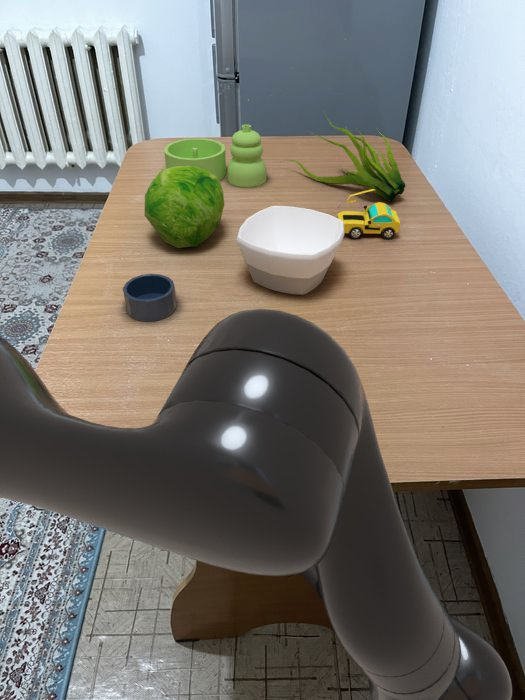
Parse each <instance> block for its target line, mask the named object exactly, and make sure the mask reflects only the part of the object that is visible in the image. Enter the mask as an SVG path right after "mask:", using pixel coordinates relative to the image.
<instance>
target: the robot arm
mask: <svg viewBox="0 0 525 700" xmlns="http://www.w3.org/2000/svg"><path fill="white" fill-rule="evenodd" d="M380 449H381V448H380V446H379V441H378V437H377V434H376V429H375V425H374V422H373V417H372V413H371V409H370V406H369V402H368V398H367V395H366V391H365V388H364V385H363V383H362V380H361V378H360V374H359V372H358V371H357V368H356V366H355V365H354V363H353V361H352V359H351V358H350V356H349V355H348V353H347V352H346V350H345V349H344V348H343V347H342V346H341V345H340V343H338V342H337V341H336V339H334V337H332V335H330V334H329V333H328V332H326V331H325V330H323V328H321V327H319V326H318V325H316V324H315V323H313V322H312V321H310V320H308V319H305V318H304V317H301V316H299V315H297V314H293V313H291V312H286V311H283V310H276V309H266V308H265V309H264V308H257V309H255V308H254V309H247V310H241V311H238V312H235V313H232V314H229V315H228V316H227V317H225V318H223V319H222V320H219V322H217V323H216V324H215V325H214V326H213V327H212V328H211V329H210V330H209V331H208V333H207V334H206V335H205V336H204V337H203V338H202V340H201V341H200V342H199V343H198V346H197V347H196V348H195V349H194V352H193V353H192V355H191V356H190V358H189V359H188V362H187V363H186V365H185V367H184V369H183V370H182V372H181V375H180V376H179V378H178V379H177V381H176V383H175V385H174V387H173V388H172V389H171V392H170V394H169V395H168V396H167V399H166V400H165V403H164V404H163V406H162V407H161V409H160V411H159V412H158V415H157V416H156V418H155V419H154V420H153V422H152V423H151V424H149V425H146V426H143V427H135V428H134V427H117V426H110V425H105V424H100V423H96V422H92V421H89V420H87V419H83V418H81V417H78V416H74V415H72V414H70V413H69V412H68V411H67V410H66V409H65V408H64V407H63V406H62V405H61V404H60V403H59V402H58V401H57V400H56V398H55V397H54V395H53V394H52V393H51V391H50V390H49V388H48V387H47V385H46V384H45V382H43V380H42V379H41V377H40V376H39V374H38V373H37V372H36V371H35V369H34V368H33V367H32V365H31V364H30V362H28V360H27V359H26V358H25V357H24V355H23V354H22V353H21V352H20V351H19V350H18V349H17V348H16V347H15V346H13V345H12V344H11V343H10V342H9V341H7V340H6V339H5V338H3V337H2V336H1V335H0V498H1V499H6V500H10V501H13V502H17V503H20V504H25V505H28V506H32V507H36V508H39V509H41V510H42V509H43V510H46V511H49V512H52V513H56V514H59V515H62V516H64V517H68V518H70V519H73V520H76V521H79V522H81V523H85V524H88V525H90V526H93V527H96V528H98V529H101V530H105V531H107V532H111V533H114V534H117V535H120V536H122V537H125V538H128V539H131V540H134V541H136V542H140V543H143V544H145V545H148V546H152V547H155V548H157V549H160V550H163V551H166V552H169V553H172V554H175V555H178V556H181V557H184V558H187V559H191V560H194V561H197V562H199V563H203V564H206V565H210V566H211V567H216V568H220V569H224V570H228V571H232V572H236V573H242V574H246V575H255V576H262V577H288V576H296V575H299V574H301V576H302V577H303V578H304V579H305V580H306V581H307V582H308V583H309V585H311V587H312V588H313V589H314V591H315V592H316V593H317V595H318V597H320V599H321V601H322V602H323V606H324V609H325V612H326V616H327V618H328V621H329V623H330V625H331V627H332V630H333V631H334V634H335V636H336V638H337V640H338V642H339V643H340V644H341V646H342V648H343V649H344V650H345V651H346V652H347V654H348V656H349V657H350V658H351V659H352V660H353V661H354V662H355V664H356V665H357V666H358V668H359V669H360V670H361V671H362V672H363V673H364V674H365V675H366V677H367V681H368V689H369V694H370V698H371V700H512V697H513V684H512V679H511V676H510V672H509V670H508V667H507V666H506V665H507V664H506V663H505V662H504V660H503V659H502V657H501V655H500V654H499V653H498V651H497V650H496V649H495V648H494V647H493V645H491V644H490V643H489V642H488V641H487V639H485V638H483V637H482V636H481V635H480V634H478V633H477V632H476V631H475V630H473V629H472V628H470V626H468V625H466V624H465V623H463V622H461V621H460V620H459V619H457V618H456V617H454V616H453V615H451V614H450V613H448V612H447V610H446V608H445V606H444V604H443V603H442V600H441V599H440V598H439V596H438V594H437V592H436V590H435V588H434V587H433V585H432V583H431V582H430V579H429V578H428V576H427V574H426V573H425V570H424V569H423V566H422V565H421V562H420V560H419V558H418V556H417V553H416V550H415V548H414V546H413V544H412V541H411V539H410V536H409V533H408V530H407V527H406V525H405V523H404V519H403V516H402V514H401V511H400V508H399V505H398V503H397V498H396V496H395V494H394V490H393V487H392V484H391V480H390V478H389V474H388V471H387V467H386V465H385V462H384V459H383V455H382V452H381V450H380Z"/></svg>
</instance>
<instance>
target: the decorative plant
mask: <svg viewBox="0 0 525 700" xmlns="http://www.w3.org/2000/svg"><path fill="white" fill-rule="evenodd" d="M323 114H324V115H325V118H326V119H327V121H328V123H329V125H330V126H331V127H332V128H333V129H335V130H337V131H340V132H342V133H344V134H345V135H346V136H347V137H349V139H350V141H351V142H352V144H353V145H354V147H355V149H356V150H357V152H358V157H359V158H358V157H357V156H356V155H355V153H353V152H352V151H351V150H350V149H349V148H348V147H347V146H346V145H345V144H342V143H339V142H336V141H333V140H330V139H327V138H325V137H323V136H320V135H318V134H315V133H313V132H311V131H307V132H309V133H310V134H311V135H314V136H316V137H318V138H320V139H321V140H324V141H325V142H328V143H330V144H332V145H333V146H337V147H340V148H342V149H343V150H344V151H345V153H346V155H347V156H348V158H349V159H350V161H351V162H352V164H353V165H354V167H355V169H356V171H354V170H348V171H346V170H345V169H344V168H343V167H342V165H341V164H339V166H340V167H341V168H342V171H343V172H344V173H345V174H346V175H337V176H336V175H335V176H317V175H315V174H313V173H312V172H310V171H309V170H307V169H306V167H305V166H304V165H303V164H302V163H301V162H299V161H297V160H295V159H287V162H288V161H289V162H295V163H296V164H297V165H299V167H300V168H301V169H302V171H303V172H304V173H305V174H306V175H307V176H309V177H310V178H311V179H313V180H315V181H317V182H321V183H324V184H329V185H353V186H354V185H355V186H361V187H364V188H366V189H368V190H371V189H375V190H374V191H371V192H372V193H374V194H377V195H379V196H381V197H382V198H384V199H385V200H386V201H389V202H391V203H393V202H394V200H395V199H396V198H397V196H399V195H403V193H404V191H405V190H406V189H405V188H406V183H405V181H404V180H403V179H402V176H401V173H400V170H399V168H398V163H397V161H396V160H395V158H394V155H393V151H392V147H391V144H390V143H389V140H388V139H387V137H386V136H385V135H384V134H382V133H381V132H380V131H379V129H378V127H377V126H376V127H375V128H376V131H377V132H378V133H379V135H381V137H382V138H383V139H384V141H385V143H386V154H387V155H386V156H387V159H386V157H385V156H384V154H383V153H382V152H381V150H379V149H378V148H376V147H372V146H371V144H369V143H368V142H367V141H366V140H365V137H364V135H362V133H361V132H360V131H359V130H358V129H357V128H355V127H354V129H355V130H356V131H357V132H358V133H359V134H360V136H361V137H358V136H355V135H353V133H352V132H351V131H349V130H348V129H347V127H345V128H344V127H343V128H342V127H337V126H335V125H334V124H332V122H331V121H330V120H329V118H328V117H327V114H326V112H325V110H323ZM359 141H360V142H361V143H362V144H361V143H360V142H359ZM374 148H375V149H374ZM376 150H377V151H378V152H379V153H380V156H381V159H382V164H383V166H382V164H381V161H380V157H379V154H378V153H377V152H376ZM368 152H369V154H370V155H369V154H368ZM359 159H360V160H359ZM285 161H286V159H283V160H279V163H280V162H285ZM387 161H388V162H387ZM388 163H389V164H388Z"/></svg>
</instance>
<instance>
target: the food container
mask: <svg viewBox="0 0 525 700" xmlns="http://www.w3.org/2000/svg"><path fill="white" fill-rule="evenodd" d="M231 142H232V143H231V144H230V149H229V150H230V155H231V156H232V157H231V159H229V162H228V165H227V162H226V159H227V158H226V146H225V144H223V143H222V142H220V141H218V140H215V139H210V138H203V137H201V138H199V137H195V138H194V137H193V138H183V139H179V140H175V141H173V142H170V143H168V144H166V146H165V147H164V149H163V151H164V152H163V153H164V161H165V162H164V163H165V169H167V168H171V167H175V166H195V167H199V168H202V169H206V170H208V171H209V172H210V173H212V174H213V175H214V176H216V177H217V178H218V179H219V181H221V180H223V179H224V178H225V177H226V178H227V182H228V183H229V184H230V185H233V186H236V187H241V188H253V187H258V186H261V185H263V184H265V183H266V182H267V171H268V170H267V165H266V163H265V161H264V159H263V158H262V155H263V152H264V147H263V143H261V142H262V137H261V135H260V133H258V132H257V131H255V130H252V125H251V124H247V123H246V124H245V123H244V124H242V125H241V130H238V131H236V132H234V133H233V134H232V137H231ZM226 174H227V175H226Z"/></svg>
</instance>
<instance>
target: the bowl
mask: <svg viewBox="0 0 525 700" xmlns="http://www.w3.org/2000/svg"><path fill="white" fill-rule="evenodd" d="M344 237H345V233H344V223H343V221H342V220H340V219H338V218H337V217H335V216H333V215H331V214H328V213H326V212H323V211H318V210H316V209H315V210H314V209H311V208H304V207H299V206H298V207H297V206H290V205H289V206H288V205H271V206H268V207H266V208H264V209H261V210H259V211H256V213H254V214H252V215H251V216H249V217H247V218H246V219H245V221H244V222H243V223H242V225H241V226H240V227H239V229H238V233H237V237H236V239H235V240H236V243H237V246H238V248H239V250H240V253H241V255H242V258H243V260H244V263H245V264H246V267H247V269H248V271H249V274H250V276H251V278H252V281H253V282H254V283H256V284H258V285H259V286H261V287H263V288H266V289H269V290H272V291H274V292H277V293H285V294H288V295H300V296H303V295H307V294H308V293H310V292H312V291H313V290H315V289H316V288H317V287H318V286H319V285H321V284H322V282H323V280H324V278H325V276H326V274H327V271H328V270H329V268H330V266H331V264H332V262H333V260H334V258H335V256H336V254H337V252H338V250H339V248H340V246H341V244H342V241H343V239H344Z"/></svg>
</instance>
